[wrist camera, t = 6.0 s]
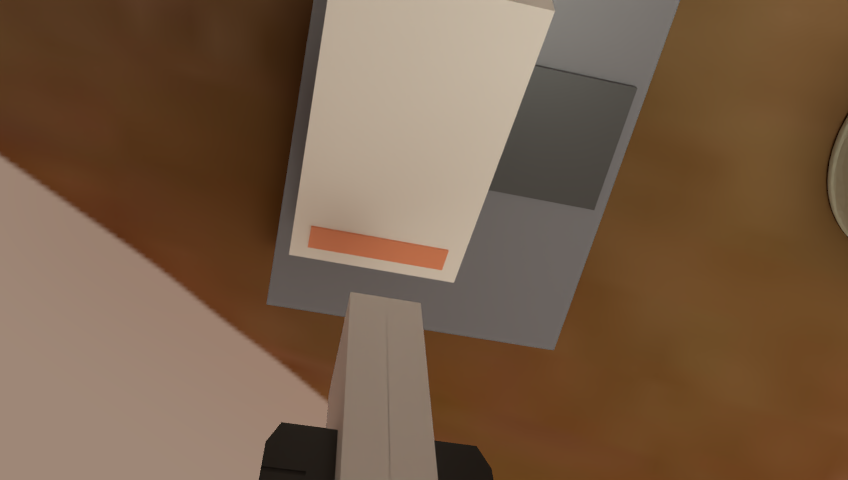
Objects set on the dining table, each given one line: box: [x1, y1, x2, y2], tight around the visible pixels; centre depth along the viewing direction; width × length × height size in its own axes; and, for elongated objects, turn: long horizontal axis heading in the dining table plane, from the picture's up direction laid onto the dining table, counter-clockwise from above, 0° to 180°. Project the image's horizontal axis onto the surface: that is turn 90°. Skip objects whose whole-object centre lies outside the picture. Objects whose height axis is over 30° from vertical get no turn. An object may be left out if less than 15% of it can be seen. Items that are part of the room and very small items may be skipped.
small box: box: [289, 0, 555, 283], centre depth 20 cm, size 9×5×2 cm, turn 168°
